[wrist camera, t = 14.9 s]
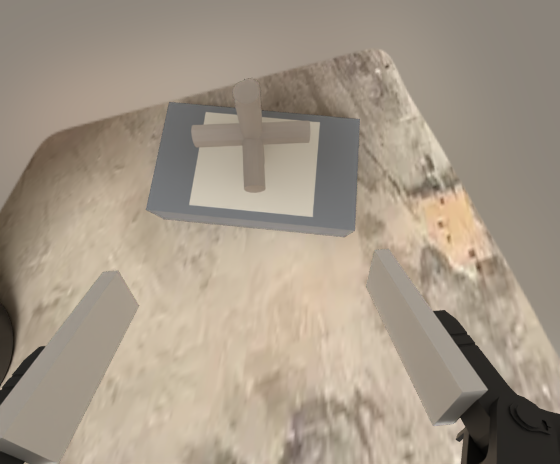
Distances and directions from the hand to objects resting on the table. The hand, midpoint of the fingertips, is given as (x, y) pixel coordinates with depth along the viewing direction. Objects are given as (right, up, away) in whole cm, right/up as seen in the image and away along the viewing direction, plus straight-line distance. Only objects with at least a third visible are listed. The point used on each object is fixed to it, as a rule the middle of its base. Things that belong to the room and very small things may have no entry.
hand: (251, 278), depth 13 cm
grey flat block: (-1, +9, +17) cm, 20 cm away
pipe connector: (-1, +10, +13) cm, 17 cm away
